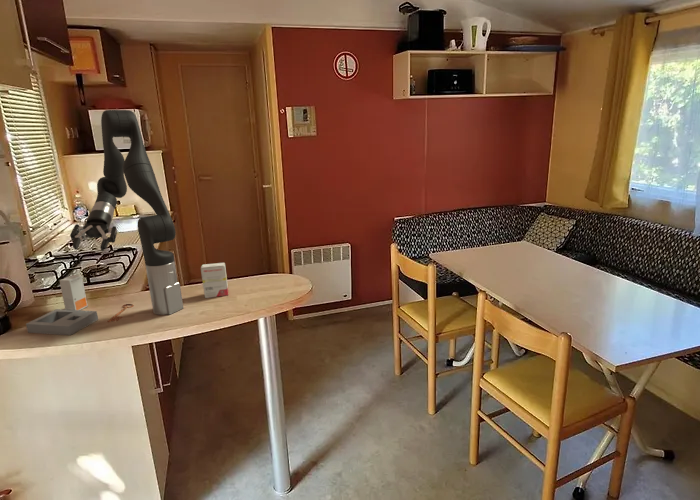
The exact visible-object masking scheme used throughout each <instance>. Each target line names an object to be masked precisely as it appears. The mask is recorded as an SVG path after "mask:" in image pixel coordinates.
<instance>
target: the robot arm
mask: <svg viewBox="0 0 700 500" xmlns="http://www.w3.org/2000/svg"><path fill="white" fill-rule="evenodd" d="M100 122H101V123H100V124H101V137H102V147H103V157H104V158H103V159H104V161H103V172H102V173H103V174H102V175H103V176H102V177H100V178H99V179H98V181H97V183H96V184H97V185H96V189H97V196H96V199H95V202H94V204H93V205H92V208H91V210H90V212H89V214H88V217H87V219H86V222H85V224H84V225H83V226H82V225H79V224H74V226H73V228H72V230H71V232H70V234H69V237H70V238H71V241H73V243H72V247H73V249H74V250H76V251H77V250H78V249H79V247H80V244H81V242H82V241H85V240H87V239H89V238H90V239H93V238H95V239H100V238H101V239H102V240H101V244H100V245H99V247H100V251H102V252H105V251H104V250H106V249H107V247H108V245H109V243H111V244H112V243H113V244H114V243H115V242H116V238H117V234H118V230H117V226H116V225H113V226H112V227H110V226H111V224H112V220H113V219H114V213H115V210H116V207H117V204H118V199H121V198H123V197H125V196H126V195H127V192H128V187H129V189H130V190H131V191H132V192H133V193H134V194H135V195H137V196H138V197H140V199H142V200H143V201H144V202H146V203H147V205H149V206H150V207H151V208H152V210H153V211H154V213H155V215H154V214H153V215H148V216H142V217H139V219H137V231H138V235H139V239H140V245H141V249H142V254H143V258H144V265H145V270H146V277H147V282H148V289H149V295H150V296H149V297H150V300H151V306H152V312H153V314H155V315H162V316H163V315H172V314H174V313H176V312H178V311H180V310H183V309H184V304H183V296H182V288H181V283H180V282H178V276H177V270H176V268H177V267H176V262H175V256H174V253H173V252H172V251H169V250H163V249H158V248H156V247H155V245H154V244H159V243H161V244H162V243H165V242H170V241H173V240H175V238H176V234H177V233H176V227H175V223H174V221H173V218H172V217H171V213H170V211H169V210H168V207H167V205H166V202H165V200H164V198H163V196H162V193H161V190H160V186H159V184H158V181H157V178H156V174H155V172H154V168H153V165H152V163H151V161H150V158H149V156H148V153H147V150H146V147H145V144H144V141H143V137H142V133H141V128H140V125H139V122H138V119H137V116H136V114H135V113H134V112H133V111H132V110H128V109H106V110H103V111H102V114H101V121H100ZM113 138H129V140H130V147H129V150H128V153H127V155H126V156H125V157H124V155H123V153H122V152H121V150H119V148H118V147H117V146H116V144H115V143H114V139H113ZM127 186H128V187H127ZM117 198H118V199H117ZM108 233H110V235H109V236H107V235H106V234H108Z"/></svg>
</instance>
